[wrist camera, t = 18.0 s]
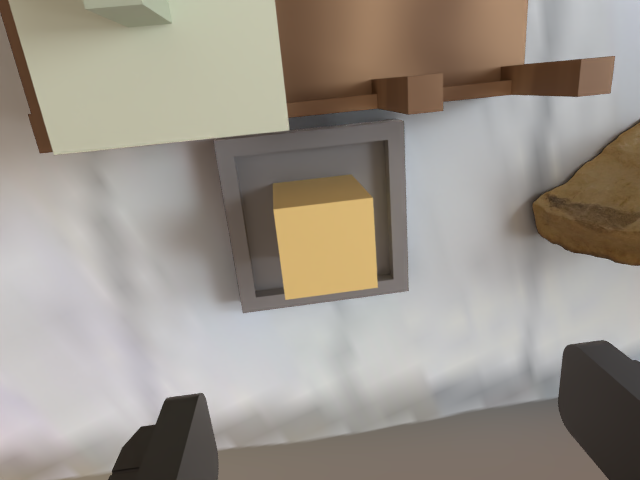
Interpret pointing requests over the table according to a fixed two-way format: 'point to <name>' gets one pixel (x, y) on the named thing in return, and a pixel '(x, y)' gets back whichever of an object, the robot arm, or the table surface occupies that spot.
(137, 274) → the table surface
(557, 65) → the wooden drawer box
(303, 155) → the dish
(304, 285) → the block
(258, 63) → the lid
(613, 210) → the rock
